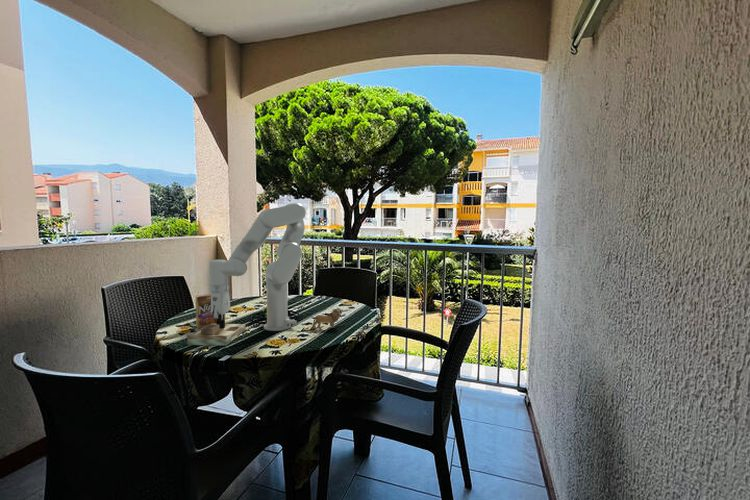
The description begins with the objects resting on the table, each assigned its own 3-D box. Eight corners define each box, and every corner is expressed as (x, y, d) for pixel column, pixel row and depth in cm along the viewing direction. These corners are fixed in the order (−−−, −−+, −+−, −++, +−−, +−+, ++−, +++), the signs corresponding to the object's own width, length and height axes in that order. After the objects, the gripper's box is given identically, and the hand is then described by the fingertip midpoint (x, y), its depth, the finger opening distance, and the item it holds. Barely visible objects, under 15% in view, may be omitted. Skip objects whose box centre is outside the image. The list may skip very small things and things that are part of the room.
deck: (245, 329, 168) (245, 321, 167) (226, 345, 147) (226, 336, 146) (211, 328, 168) (211, 320, 167) (187, 344, 147) (187, 335, 146)
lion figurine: (338, 325, 177) (338, 307, 176) (342, 328, 172) (342, 309, 171) (309, 328, 171) (309, 309, 170) (311, 331, 166) (311, 312, 165)
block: (219, 333, 154) (219, 324, 153) (212, 338, 148) (212, 328, 147) (208, 333, 154) (207, 324, 153) (201, 338, 148) (200, 328, 147)
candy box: (197, 328, 167) (196, 296, 166) (195, 326, 171) (194, 295, 170) (217, 325, 172) (216, 294, 171) (216, 323, 176) (215, 293, 175)
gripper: (220, 291, 150) (222, 334, 152) (234, 284, 165) (235, 323, 167) (202, 291, 150) (204, 334, 152) (218, 284, 165) (219, 323, 167)
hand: (220, 328), depth 159 cm, fingers closed
